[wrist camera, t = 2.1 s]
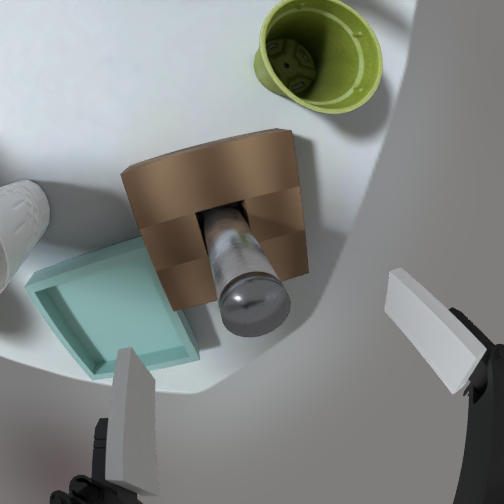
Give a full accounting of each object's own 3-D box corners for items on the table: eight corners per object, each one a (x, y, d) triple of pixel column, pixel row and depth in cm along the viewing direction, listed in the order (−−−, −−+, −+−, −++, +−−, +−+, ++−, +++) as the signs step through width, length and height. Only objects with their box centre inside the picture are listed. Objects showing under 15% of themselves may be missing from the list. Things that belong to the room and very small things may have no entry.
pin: (206, 234, 27) (230, 344, 14) (197, 200, 26) (213, 294, 13) (241, 224, 28) (293, 325, 15) (233, 191, 26) (286, 273, 13)
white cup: (64, 235, 24) (23, 289, 15) (15, 250, 22) (-28, 301, 14) (44, 163, 20) (-14, 191, 11) (-6, 186, 19) (-61, 221, 10)
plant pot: (345, 84, 23) (401, 80, 16) (274, 131, 24) (314, 138, 17) (294, 12, 18) (337, -19, 11) (214, 55, 20) (229, 25, 12)
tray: (95, 364, 32) (92, 380, 30) (34, 272, 24) (24, 286, 22) (198, 342, 34) (200, 359, 31) (151, 232, 26) (148, 245, 23)
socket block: (173, 288, 29) (173, 311, 26) (129, 165, 22) (120, 174, 19) (294, 254, 31) (308, 272, 28) (276, 128, 24) (291, 130, 21)
